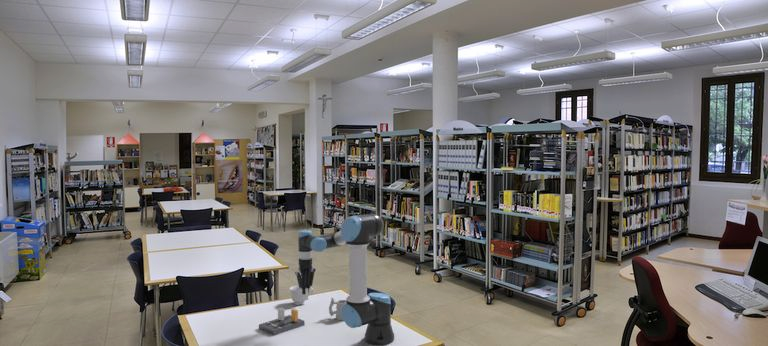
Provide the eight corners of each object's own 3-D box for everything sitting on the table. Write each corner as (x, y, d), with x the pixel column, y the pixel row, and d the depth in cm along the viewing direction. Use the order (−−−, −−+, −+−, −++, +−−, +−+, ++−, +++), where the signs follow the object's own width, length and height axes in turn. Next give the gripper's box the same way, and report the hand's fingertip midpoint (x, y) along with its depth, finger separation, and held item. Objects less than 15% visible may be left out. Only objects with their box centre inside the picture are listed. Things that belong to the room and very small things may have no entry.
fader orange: (297, 320, 258) (297, 309, 258) (295, 321, 257) (295, 310, 257) (294, 319, 261) (293, 308, 260) (291, 320, 259) (291, 309, 259)
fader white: (284, 319, 260) (284, 308, 260) (281, 320, 259) (281, 309, 258) (280, 318, 263) (280, 307, 262) (277, 319, 261) (277, 308, 261)
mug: (347, 321, 265) (347, 300, 265) (327, 320, 267) (327, 299, 266) (350, 316, 273) (350, 296, 272) (330, 315, 274) (330, 295, 274)
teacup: (313, 305, 292) (313, 289, 292) (289, 307, 290) (288, 291, 290) (313, 299, 304) (313, 284, 304) (290, 300, 302) (290, 285, 302)
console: (304, 325, 259) (304, 320, 259) (273, 335, 245) (273, 330, 245) (289, 319, 269) (289, 314, 269) (258, 329, 254) (258, 324, 254)
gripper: (310, 255, 270) (310, 295, 272) (291, 259, 261) (292, 300, 262) (318, 257, 265) (319, 298, 267) (300, 261, 256) (300, 303, 257)
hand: (305, 299), depth 264 cm, fingers closed
